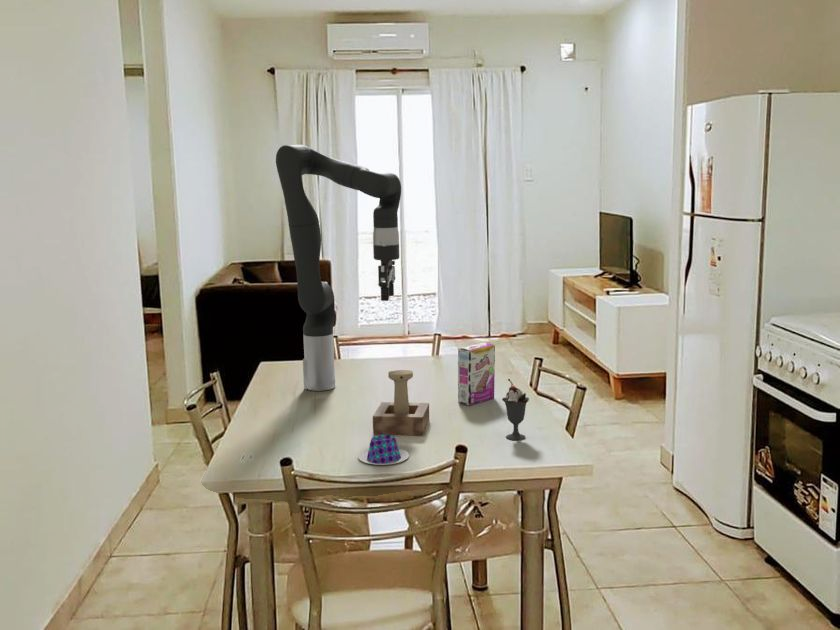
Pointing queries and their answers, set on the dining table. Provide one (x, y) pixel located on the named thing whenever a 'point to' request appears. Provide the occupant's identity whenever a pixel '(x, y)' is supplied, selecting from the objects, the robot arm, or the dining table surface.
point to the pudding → (383, 451)
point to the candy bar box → (476, 373)
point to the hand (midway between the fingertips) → (387, 298)
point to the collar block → (401, 420)
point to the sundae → (515, 410)
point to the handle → (401, 390)
